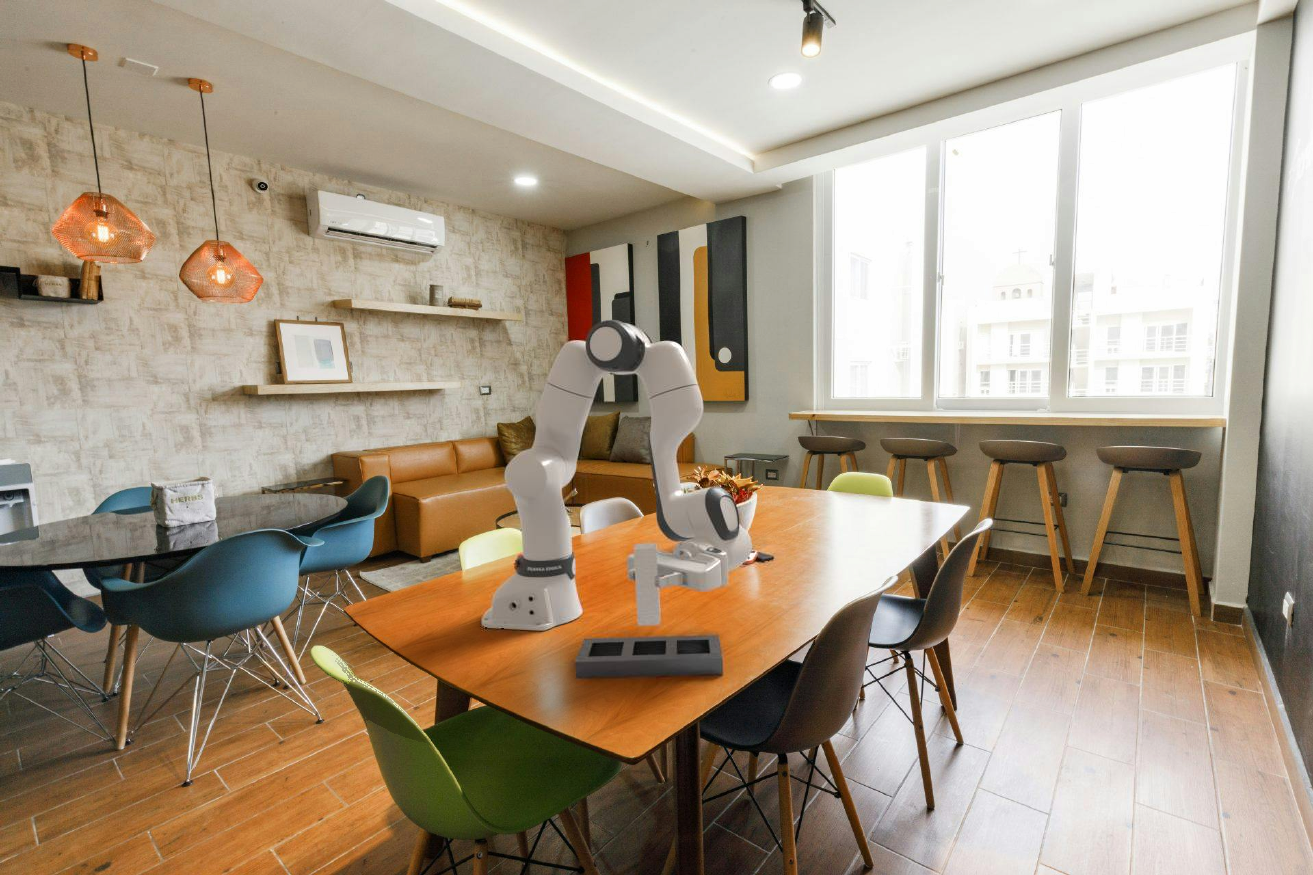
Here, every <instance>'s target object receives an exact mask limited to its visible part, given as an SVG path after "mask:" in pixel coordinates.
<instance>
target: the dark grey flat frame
mask: <svg viewBox="0 0 1313 875" xmlns="http://www.w3.org/2000/svg"><path fill="white" fill-rule="evenodd" d="M582 640H583V641H582V642H581V646H580V647H579V648H580V649H579V651H578V653H577V656H576V659H575V661H574V668H575V679H604V678H606V679H607V678H608V679H609V678H611V679H612V678H613V679H614V678H641V677H643V678H644V677H645V678H646V677H647V678H649V677H681V676H683V677H686V676H687V677H688V676H689V677H690V676H720V675H721V676H722V675H723V676H724V666H723V665H724V661H723V654H722V649H721V648H722V647H721V641H720V636H719V634H708V635H707V634H701V635H698V634H697V635H667V636H666V635H665V636H664V635H661V636H636V637H635V636H634V637H633V636H630V637H628V636H626V637H599V638H598V637H596V638H595V637H592V638H583V639H582Z"/></svg>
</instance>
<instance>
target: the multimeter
mask: <svg viewBox="0 0 1313 875" xmlns="http://www.w3.org/2000/svg"><path fill="white" fill-rule="evenodd" d="M772 559H774V560H775V556H774V555H772V554H768V553H763V552H762V551H761V552H760V551H758V550H756V549H752V550H751V553H750V555H749V557H748V559H747V560H746V561H745V562H744V566H742V565H740V566H739V568H741V567H742V568H745V567H746V566H747V565H749V564H751V565H753V564H752V563H754V562H755V561H756V560H757V562H759V561H761V562H760V563H762V562H764V563H766V562H765V561H768V562H771V561H773V560H772ZM770 560H771V561H770Z"/></svg>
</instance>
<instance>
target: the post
mask: <svg viewBox="0 0 1313 875" xmlns="http://www.w3.org/2000/svg"><path fill="white" fill-rule="evenodd" d="M657 544H658V543H657V542H649V543H647V542H645V543H634V547H633V554H634V565H635V581H634V583H635V599H636V602H635V603H636V615H637V616H636V617H637V626H638V627H639V626H640V627H641V626H661V600H660V588H659V587H656V586H655V578H656V577H658V559H657V550H658V545H657Z"/></svg>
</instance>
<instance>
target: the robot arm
mask: <svg viewBox="0 0 1313 875" xmlns="http://www.w3.org/2000/svg"><path fill="white" fill-rule="evenodd" d="M608 374H609V375H611V376H612V375H613V376H615V375H616V376H617V375H618V376H619V375H620V376H636V375H637V376H638V377H639V378H640V380H641V381H642V384H643V385H644V389H645V392H646V397H647V400H648V403H649V407H650V415H651V417H650V419H651V420H650V428H649V430H648V434H647V443H648V444H647V446H648V455H649V462H650V469H651V474H652V480H653V486H654V493H655V500H656V501H655V502H656V507H655V508H656V510H655V511H656V514H655V517H656V523H657V526H658V528H659V530H660V532H662V534H663V535H664V536H665V537H666V538H667V539H668V540H670V541H671V542H672V541H673V542H676V543H677V542H678V543H677V544H675V546H674V547H673V549H672V552H670V551H665V550H660V549H657V559H658V577H656V578H655V586H656V587H659V589H665V588H667V587H681V588H685V589H689V590H694V591H697V592H709V591H712V590H715V589H717V588H719V587H720V588H723V587H726V586H728V585H729V572H731V571H733V570H735V569H737V568H740V566H742V565H743V563H744V562H745V561H746V560H747V559H748V557H749V555H750V553H751V550H753V549H752V548H753V544H752V538H751V536H750V534H749V532H748V531H747V530H746V529H745V528H744V527H743V526H742V525H741V523H740V514H739V510H738V507H737V503H736V501H735V500H734V497H733V496H732V495H731V494H730V493H729V492H728V490H726V489H724V488H723V487H720V486H717V485H713V486H709V487H706V488H700V489H698V490H693V491H690V492H689V491H688V492H686V493H684V491H683V490H682V486H681V479H680V474H679V473H680V472H679V468H678V467H679V466H678V461H677V453H678V449H679V447H680V445H681V444H682V443H683V441H684V440H685V439H686V438H687V437H688V435H690V433H692V432H693V431H694V430H695V429H696V427H697V426H698V425H699V423H700V421H701V420H702V416H703V414H704V401H703V397H702V396H703V395H702V393H701V389H700V386H699V383H698V379H697V376H696V374H695V372H694V368H693V367H692V364H691V362H690V360H689V358H688V355H687V354H686V352H685V350H684V348H683V347H682V346H681V345H680V344H679V343H678V342H676V341H673V340H672V341H671V340H663V341H661V340H660V341H658V342H653V341H652V340H651V337H650V336H649V335H648V334H647V333H646V332H645V331H643V330H641V329H640V328H638V327H637V326H635V325H633V324H631V323H626V322H623V321H622V320H621V321H620V320H617V319H608V320H603V321H600V322H598V323H596V324H595V325H594V326H593V327H591V328H590V330H589V332H588V333H587V335H586V339H585V340H580V339H579V340H570V341H568V342H566V343H564V344H563V346H562V348H561V349H560V350H559V353H558V354H557V356H556V358H555V360H554V362H553V364H552V367H551V369H550V372H549V373H548V376H547V379H546V382H545V385H544V389H543V391H542V393H541V398H540V400H539V402H538V407H537V409H536V412H535V421H536V424H535V426H536V428H535V436H534V440H533V444H532V446H531V448H528V449H525V450H522V451H520V452H518V454H516V455H515V456H514V457H513V458H512V459H511V460H509V462H508V464H507V465H506V467H505V469H504V482H505V486H506V487H507V489H508V491H509V492H510V493H511V494H512V496H513V499H514V502H515V507H516V510H517V513H518V517H519V521H520V527H521V540H522V542H521V543H522V552H520V553H519V554H518V555H517V557H516V559H515V560H514V563H513V569H514V570H515V573H513V574H512V575H511V576H510V577H509V578H508V579H507V580H506V581H504V582H503V583H502V584H501V585H500V586H499V587H498V588H497V589H496V590H495V592H494V594H493V596H492V599H491V607H490V608H488V609H487V610H486V611H485V612H484V614H483V615H482V617H481V626H482V627H483V626H484V627H483V628H485V627H487V628H488V629H501V628H504V629H506V630H523V631H524V630H525V631H546V630H549V629H552V628H554V627H556V626H560V625H563V624H566V623H569V622H571V621H574V620H575V619H577V618H579V617H580V616H581V615H582V614H583V608H582V605H581V602H580V598H579V595H578V591H577V585H576V584H577V583H576V579H575V578H576V577H575V576H576V567H577V566H576V558H575V552H574V550H573V545H572V544H573V542H572V525H571V518H570V515H569V514H568V512H567V508H566V507H565V502H564V498H563V493H562V492H563V491H562V490H563V488H564V487H566V486H568V485H569V483H570V482H571V481H572V479H573V478H574V475H575V473H576V470H577V465H578V464H577V463H578V458H579V452H580V449H581V442H582V436H583V432H584V429H585V426H586V422H587V419H588V418H589V417H588V416H589V413H590V410H591V408H592V405H593V402H594V400H595V397H596V393H597V390H598V387H599V385H600V383H601V380H602V379H603V378H604V377H605V376H606V375H608ZM626 567H627V579H628V580H629V581H634V582H635V565H634V553H631V554H629V555H627V557H626Z"/></svg>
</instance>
